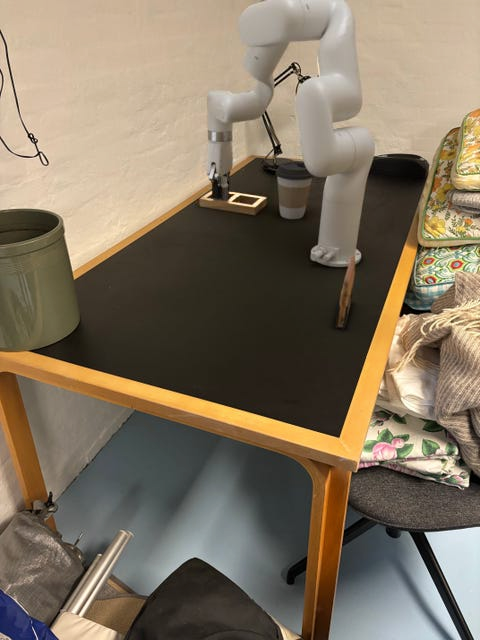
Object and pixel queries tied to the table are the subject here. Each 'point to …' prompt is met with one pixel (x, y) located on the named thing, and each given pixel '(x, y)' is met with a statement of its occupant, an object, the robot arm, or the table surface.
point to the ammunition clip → (346, 295)
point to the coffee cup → (293, 188)
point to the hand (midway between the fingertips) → (220, 194)
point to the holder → (235, 203)
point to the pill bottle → (223, 189)
